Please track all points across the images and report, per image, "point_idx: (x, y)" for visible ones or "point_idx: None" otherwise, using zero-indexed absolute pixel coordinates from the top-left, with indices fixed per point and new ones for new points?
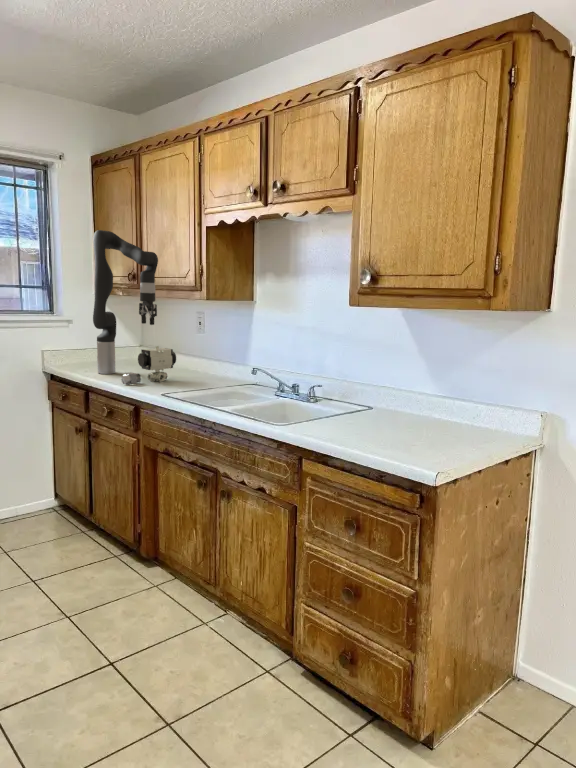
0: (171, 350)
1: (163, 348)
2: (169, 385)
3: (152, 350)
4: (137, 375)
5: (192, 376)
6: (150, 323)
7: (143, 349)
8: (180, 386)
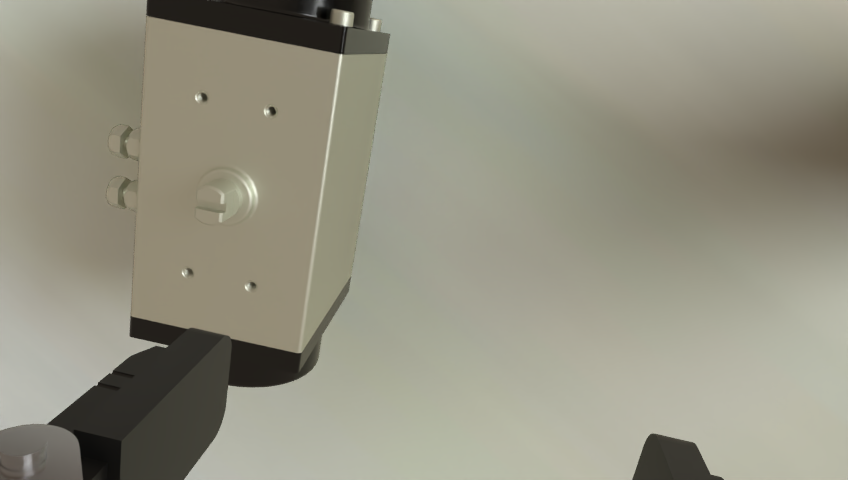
0: (135, 315)
1: (281, 332)
2: (103, 62)
3: (159, 66)
4: None
5: (335, 463)
6: (180, 338)
7: (335, 56)
8: (20, 92)
